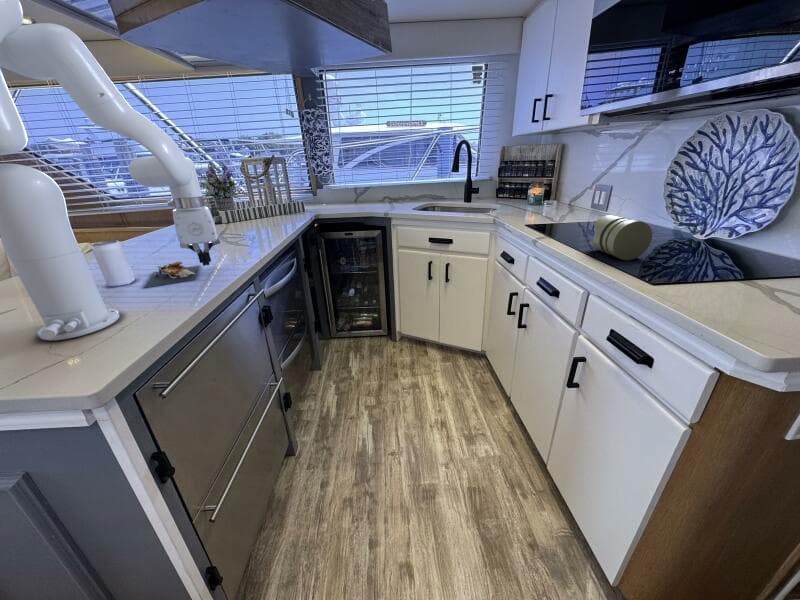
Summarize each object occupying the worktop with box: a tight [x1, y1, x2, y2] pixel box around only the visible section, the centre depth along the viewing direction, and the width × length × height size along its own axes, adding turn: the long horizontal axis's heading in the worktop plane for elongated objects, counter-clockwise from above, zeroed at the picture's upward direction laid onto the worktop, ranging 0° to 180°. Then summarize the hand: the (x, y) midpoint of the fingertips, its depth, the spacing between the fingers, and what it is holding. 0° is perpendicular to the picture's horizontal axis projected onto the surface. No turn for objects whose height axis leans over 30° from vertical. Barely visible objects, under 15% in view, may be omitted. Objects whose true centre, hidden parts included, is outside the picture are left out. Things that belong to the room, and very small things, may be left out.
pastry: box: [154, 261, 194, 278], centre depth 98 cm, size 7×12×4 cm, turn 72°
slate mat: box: [143, 265, 199, 289], centre depth 98 cm, size 16×12×1 cm
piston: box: [588, 214, 653, 261], centre depth 98 cm, size 11×12×11 cm
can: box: [91, 239, 136, 288], centre depth 91 cm, size 6×6×12 cm
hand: (206, 264), depth 100 cm, fingers closed
